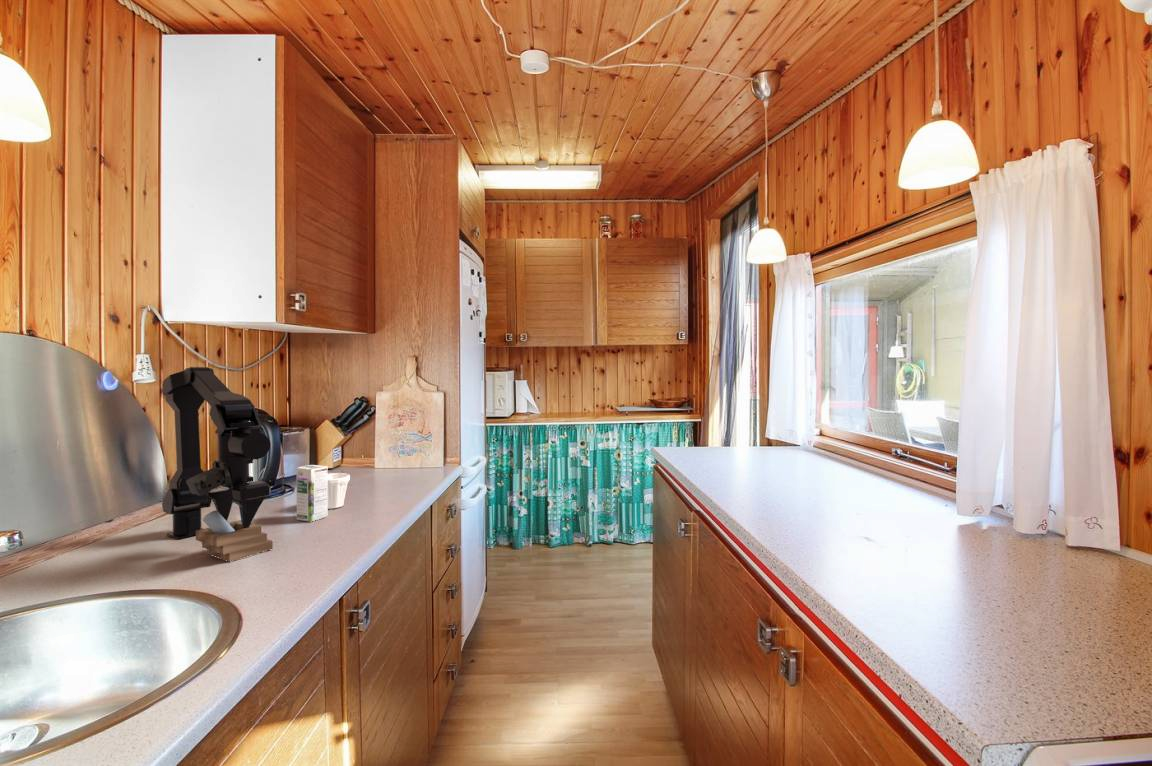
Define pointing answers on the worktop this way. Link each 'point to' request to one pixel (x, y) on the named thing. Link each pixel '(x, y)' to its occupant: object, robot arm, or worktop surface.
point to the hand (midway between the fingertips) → (234, 524)
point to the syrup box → (312, 492)
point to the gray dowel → (217, 523)
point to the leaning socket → (235, 541)
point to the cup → (337, 489)
